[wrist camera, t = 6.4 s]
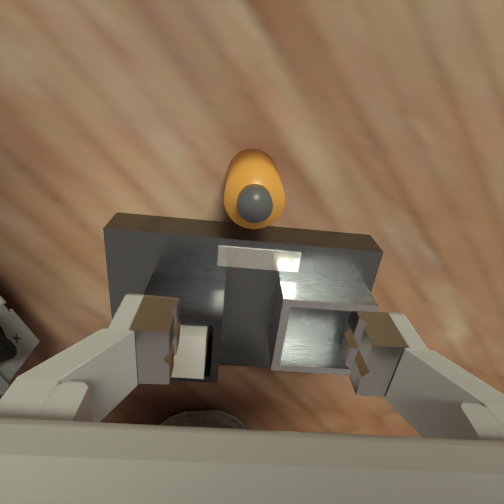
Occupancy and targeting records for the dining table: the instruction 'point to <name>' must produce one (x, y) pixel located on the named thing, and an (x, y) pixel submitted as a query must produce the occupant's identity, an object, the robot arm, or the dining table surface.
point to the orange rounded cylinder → (253, 190)
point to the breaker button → (191, 352)
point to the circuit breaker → (13, 344)
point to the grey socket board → (248, 286)
